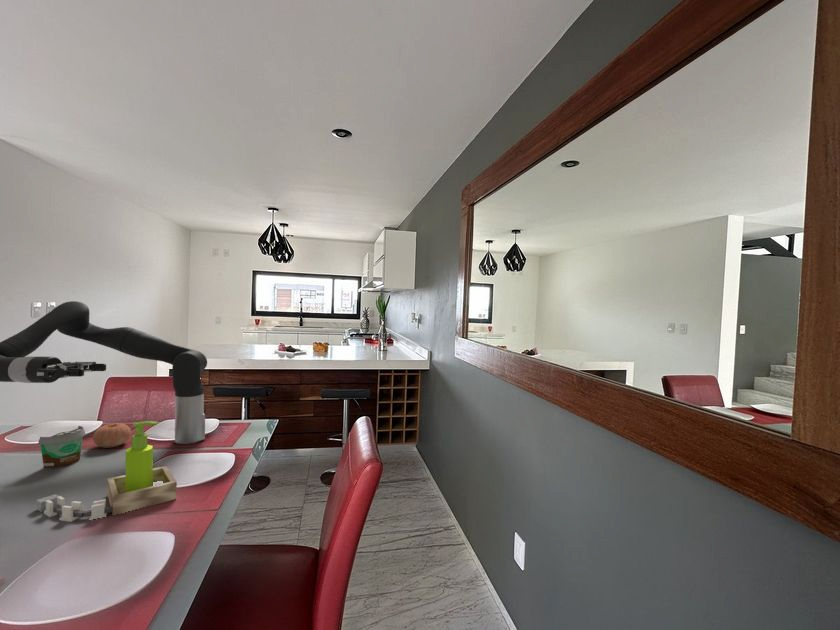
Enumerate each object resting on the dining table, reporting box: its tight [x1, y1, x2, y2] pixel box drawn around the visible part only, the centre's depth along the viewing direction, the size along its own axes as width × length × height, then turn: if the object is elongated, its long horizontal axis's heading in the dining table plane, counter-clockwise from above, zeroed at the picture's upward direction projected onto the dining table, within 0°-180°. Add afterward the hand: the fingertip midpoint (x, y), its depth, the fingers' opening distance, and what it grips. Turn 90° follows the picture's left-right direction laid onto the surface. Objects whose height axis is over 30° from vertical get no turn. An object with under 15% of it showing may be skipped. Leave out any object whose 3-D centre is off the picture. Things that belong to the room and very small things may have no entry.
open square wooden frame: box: [107, 465, 178, 516], centre depth 106 cm, size 13×13×4 cm
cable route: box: [36, 493, 112, 523], centre depth 97 cm, size 6×19×3 cm, turn 79°
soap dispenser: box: [125, 420, 158, 492], centre depth 106 cm, size 6×7×20 cm
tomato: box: [92, 422, 132, 449], centre depth 141 cm, size 11×11×8 cm
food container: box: [37, 425, 86, 469], centre depth 126 cm, size 12×6×10 cm, turn 168°
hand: (94, 369), depth 116 cm, fingers open, 8 cm apart
